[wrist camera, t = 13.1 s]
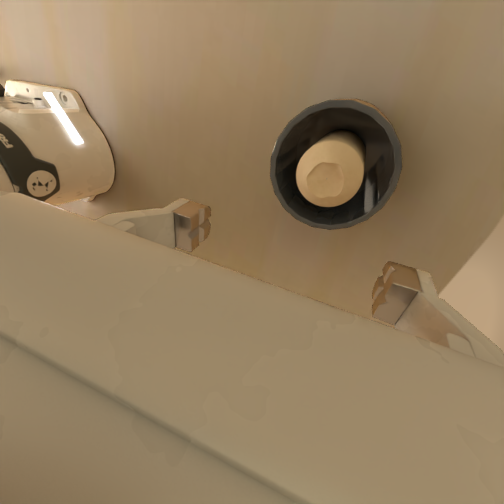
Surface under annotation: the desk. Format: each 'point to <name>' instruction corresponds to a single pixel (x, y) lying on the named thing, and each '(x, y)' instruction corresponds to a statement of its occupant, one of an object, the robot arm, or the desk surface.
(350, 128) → the pen holder
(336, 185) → the candle
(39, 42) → the desk surface
